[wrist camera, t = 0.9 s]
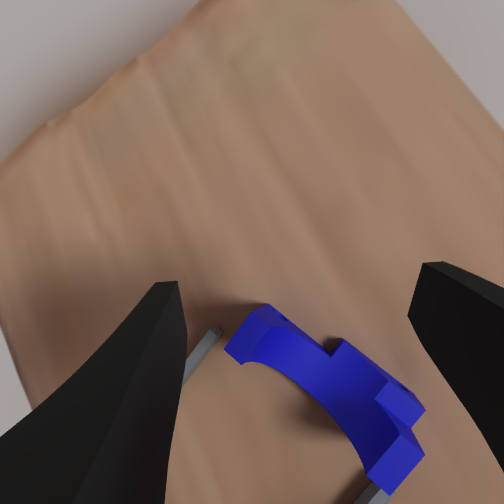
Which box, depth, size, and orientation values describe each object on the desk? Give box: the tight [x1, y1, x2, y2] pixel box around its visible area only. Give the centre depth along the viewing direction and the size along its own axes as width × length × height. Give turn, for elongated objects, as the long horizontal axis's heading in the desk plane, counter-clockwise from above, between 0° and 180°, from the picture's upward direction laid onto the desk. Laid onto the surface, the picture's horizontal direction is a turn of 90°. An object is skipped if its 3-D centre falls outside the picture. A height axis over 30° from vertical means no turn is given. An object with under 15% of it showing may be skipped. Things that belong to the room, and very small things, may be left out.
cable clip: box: [224, 304, 426, 496], centre depth 21 cm, size 12×4×6 cm, turn 53°
